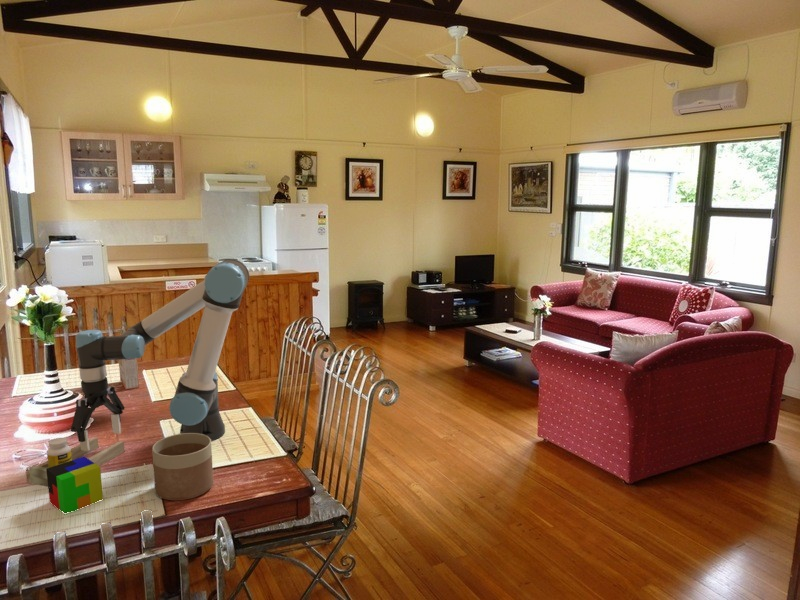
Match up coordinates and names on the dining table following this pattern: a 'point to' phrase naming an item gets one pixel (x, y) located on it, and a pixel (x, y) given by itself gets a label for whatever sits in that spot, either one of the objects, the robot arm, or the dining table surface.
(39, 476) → the guide channel
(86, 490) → the puzzle toy
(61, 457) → the pill bottle
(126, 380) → the cracker box
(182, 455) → the planter
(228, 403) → the dining table surface
